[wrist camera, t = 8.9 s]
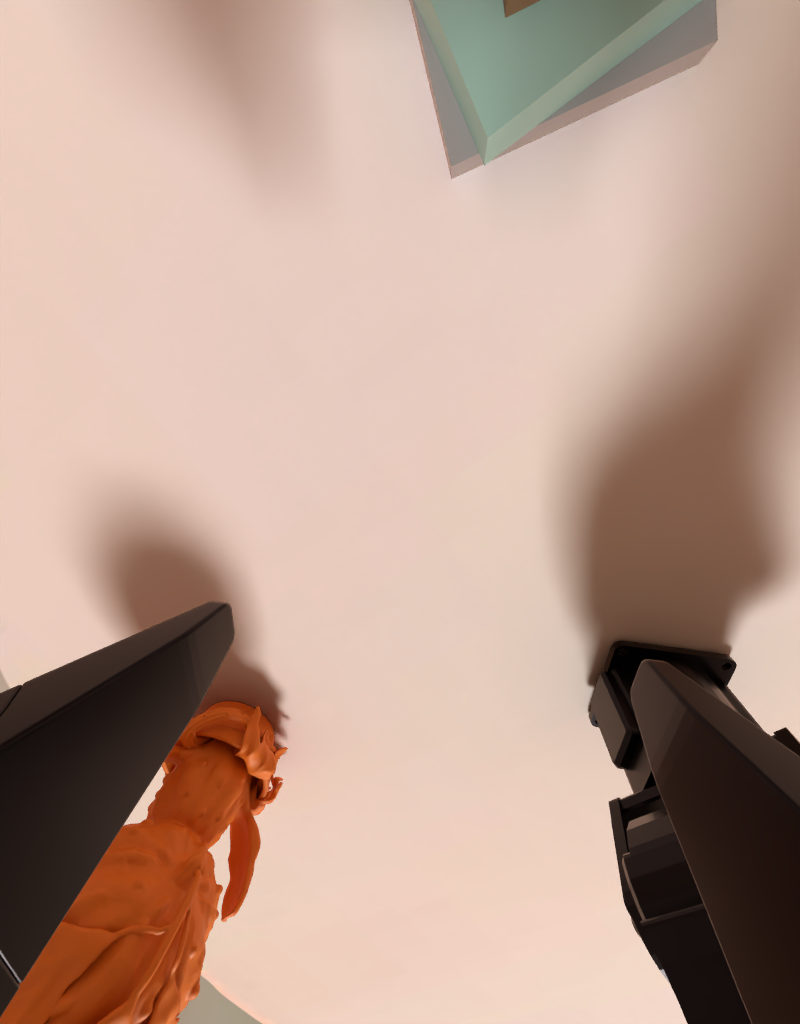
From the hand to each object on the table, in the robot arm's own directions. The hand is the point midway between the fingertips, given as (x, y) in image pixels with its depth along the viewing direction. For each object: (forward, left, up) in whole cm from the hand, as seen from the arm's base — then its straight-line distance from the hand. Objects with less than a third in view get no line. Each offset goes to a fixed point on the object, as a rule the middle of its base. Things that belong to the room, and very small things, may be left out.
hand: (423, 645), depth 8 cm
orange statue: (+14, +22, -13) cm, 29 cm away
